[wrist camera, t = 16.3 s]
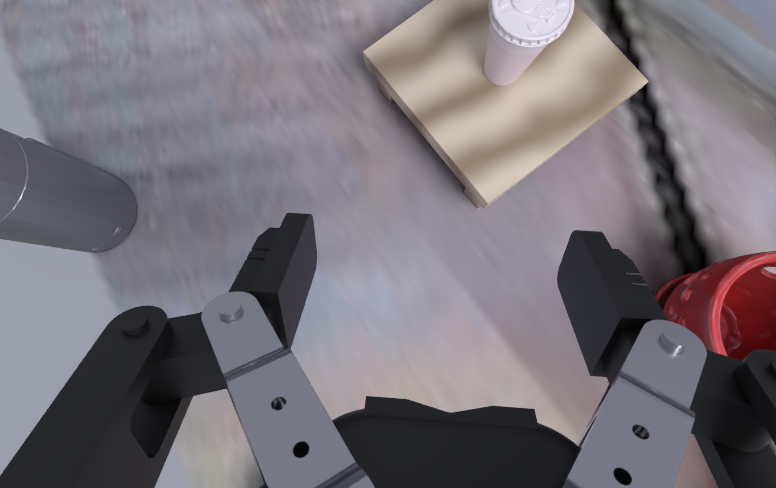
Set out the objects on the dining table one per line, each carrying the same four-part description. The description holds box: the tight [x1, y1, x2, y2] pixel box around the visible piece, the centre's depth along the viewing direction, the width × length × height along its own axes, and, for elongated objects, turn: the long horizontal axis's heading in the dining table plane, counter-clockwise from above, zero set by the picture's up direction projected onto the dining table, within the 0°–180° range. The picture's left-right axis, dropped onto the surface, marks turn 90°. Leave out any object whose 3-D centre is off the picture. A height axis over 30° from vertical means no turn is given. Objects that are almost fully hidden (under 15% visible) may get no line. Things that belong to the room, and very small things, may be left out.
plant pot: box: [654, 251, 776, 361], centre depth 38 cm, size 13×13×12 cm
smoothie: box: [484, 0, 574, 86], centre depth 35 cm, size 6×6×14 cm
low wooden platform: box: [363, 0, 648, 209], centre depth 45 cm, size 20×20×7 cm
